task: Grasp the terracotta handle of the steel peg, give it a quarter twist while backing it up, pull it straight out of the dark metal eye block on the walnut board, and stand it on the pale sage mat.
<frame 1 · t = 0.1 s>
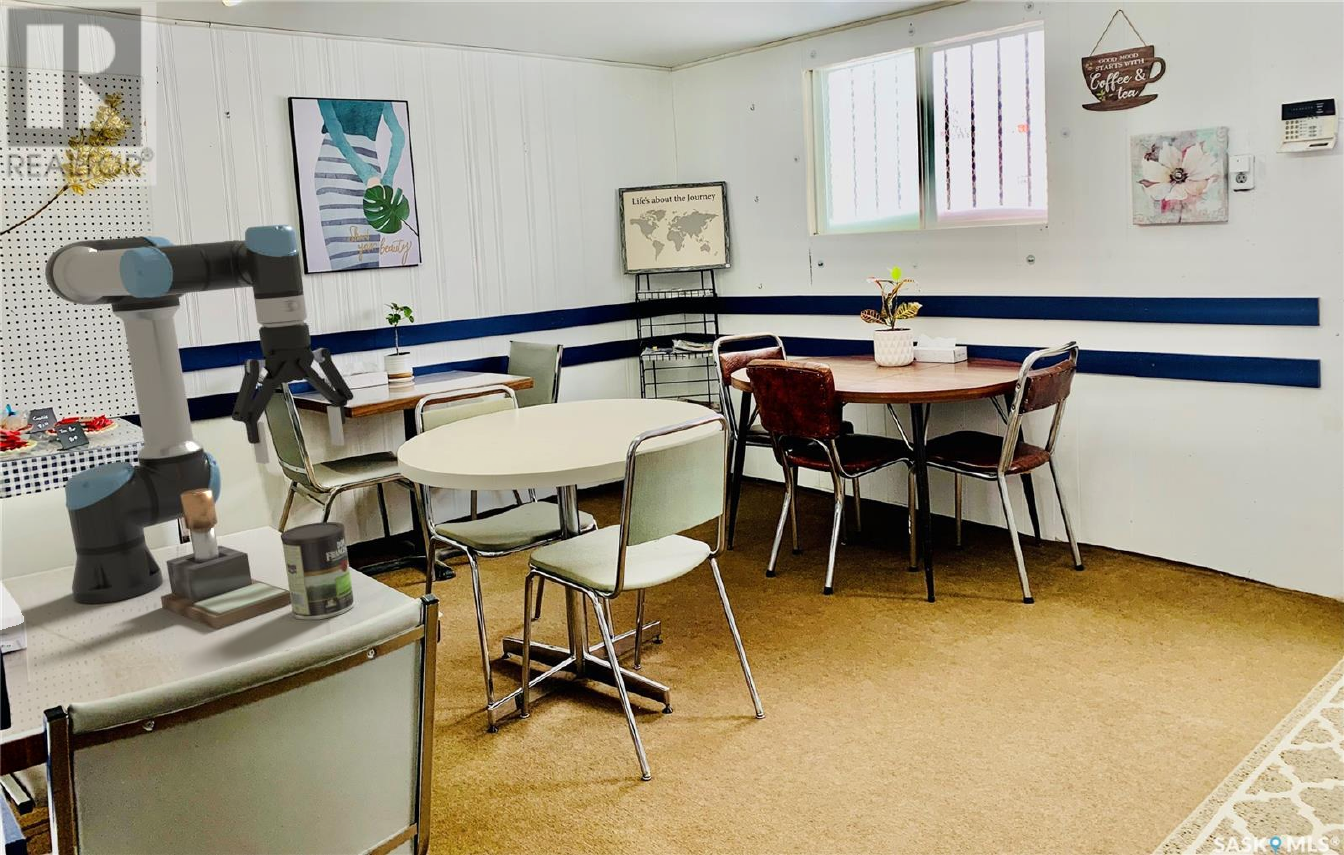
hand: (301, 453, 176), 28 cm above the table, fingers open, 13 cm apart
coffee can: (324, 610, 184), on the table
board: (227, 604, 190), on the table
peg: (212, 589, 193), point 2 cm above the table, touching board
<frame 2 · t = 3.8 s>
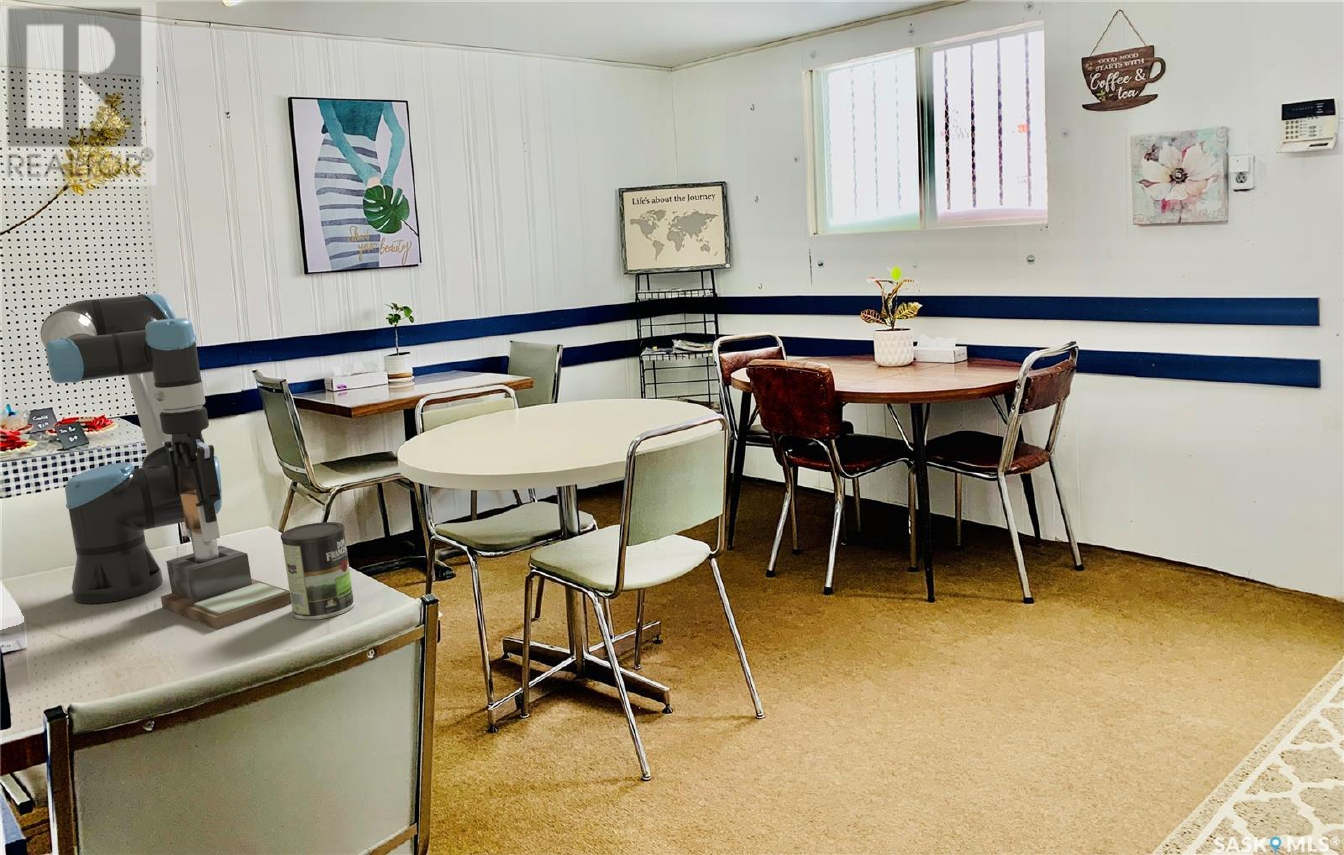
hand: (203, 536, 191), 12 cm above the table, fingers closed on peg, 5 cm apart
peg: (212, 589, 193), point 2 cm above the table, touching board, gripper
everything else where it was.
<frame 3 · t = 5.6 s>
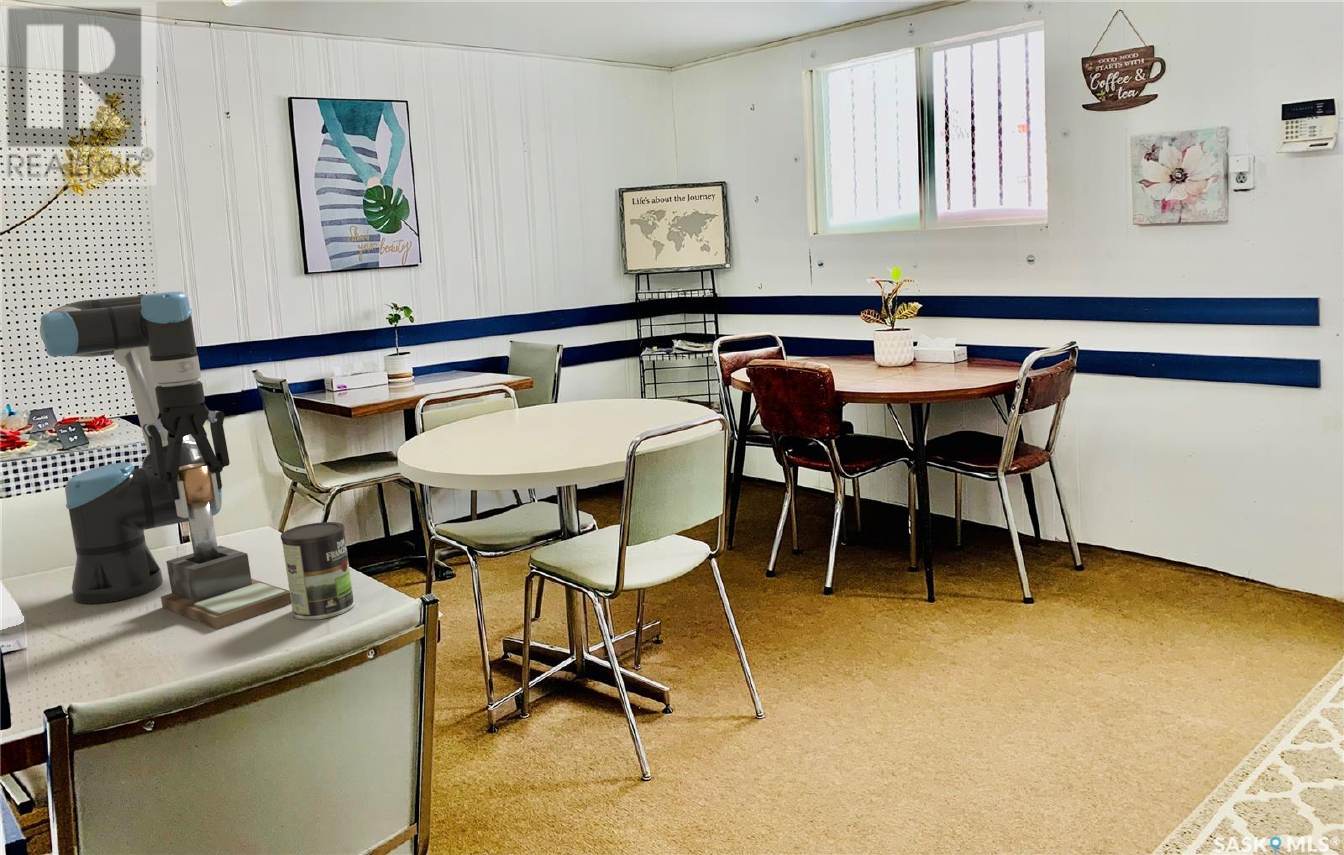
hand: (199, 512, 190), 16 cm above the table, fingers closed on peg, 5 cm apart
peg: (208, 564, 192), point 7 cm above the table, touching gripper
everything else where it was.
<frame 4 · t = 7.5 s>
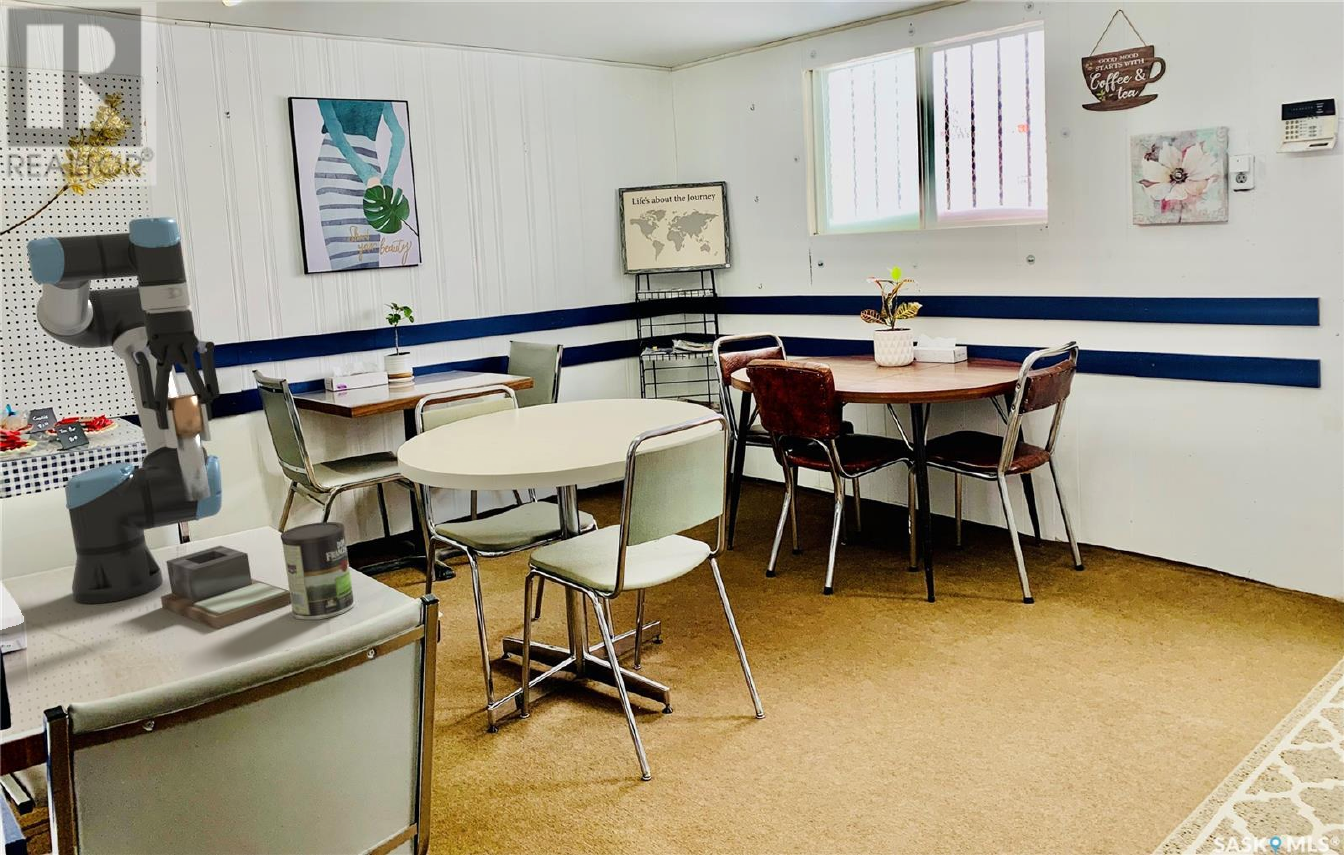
hand: (189, 443, 187), 29 cm above the table, fingers closed on peg, 5 cm apart
peg: (197, 497, 189), point 19 cm above the table, touching gripper
everything else where it was.
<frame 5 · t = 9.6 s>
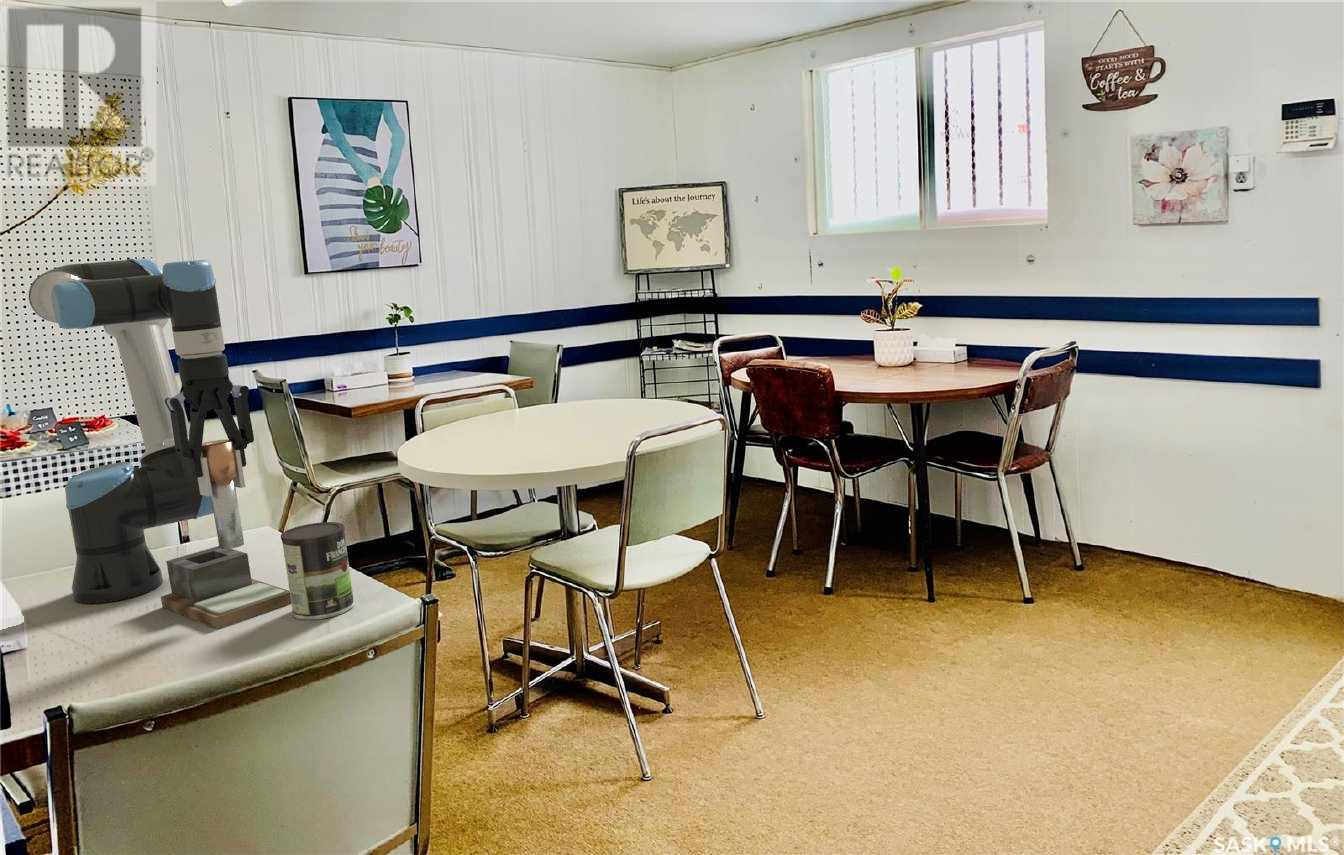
hand: (223, 490, 183), 21 cm above the table, fingers closed on peg, 5 cm apart
peg: (231, 545, 185), point 12 cm above the table, touching gripper
everything else where it was.
when the fingers open (13 cm above the table, at t = 11.4 s): peg stays where it is, resting on board.
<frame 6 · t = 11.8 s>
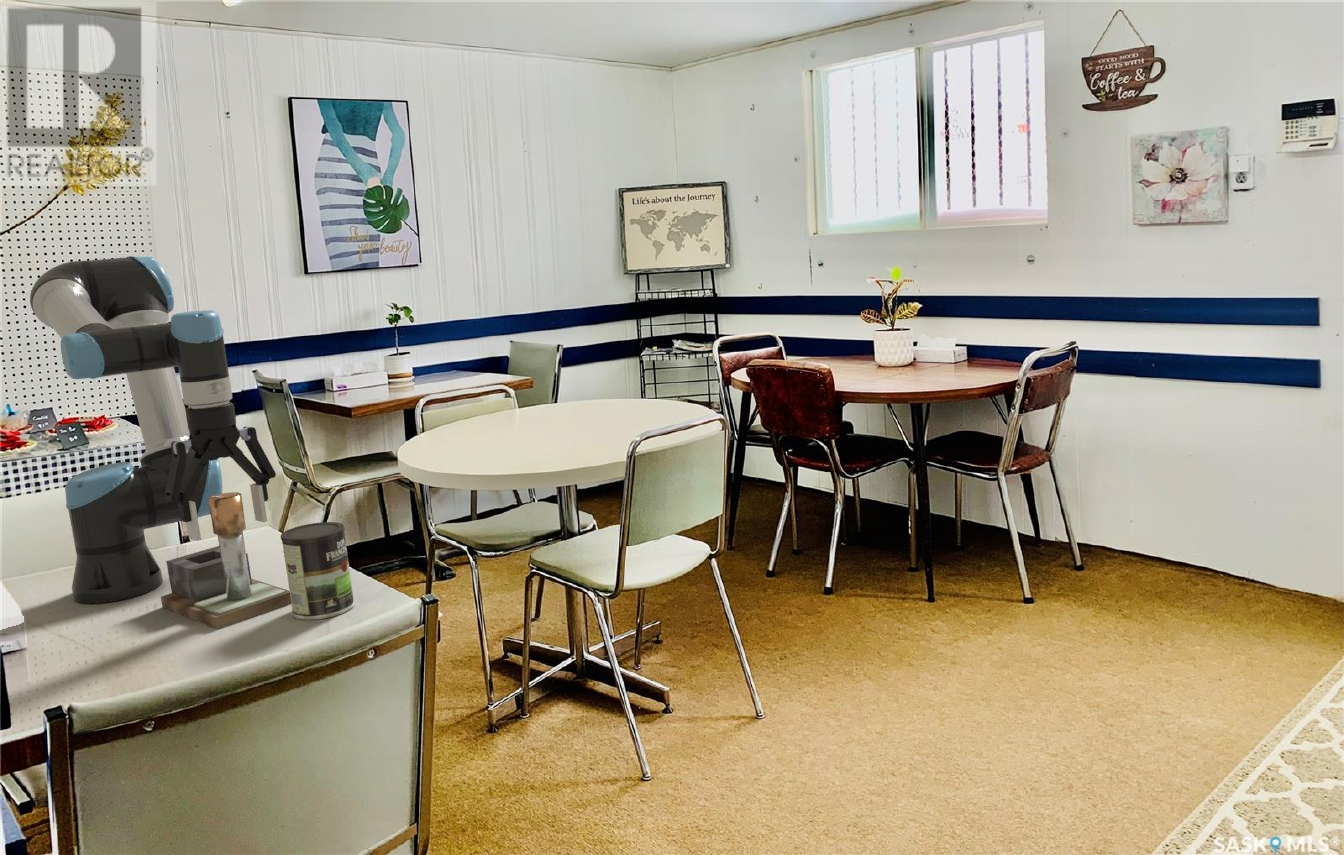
hand: (229, 529, 184), 14 cm above the table, fingers open, 11 cm apart
peg: (239, 596, 186), point 2 cm above the table, touching board
everything else where it was.
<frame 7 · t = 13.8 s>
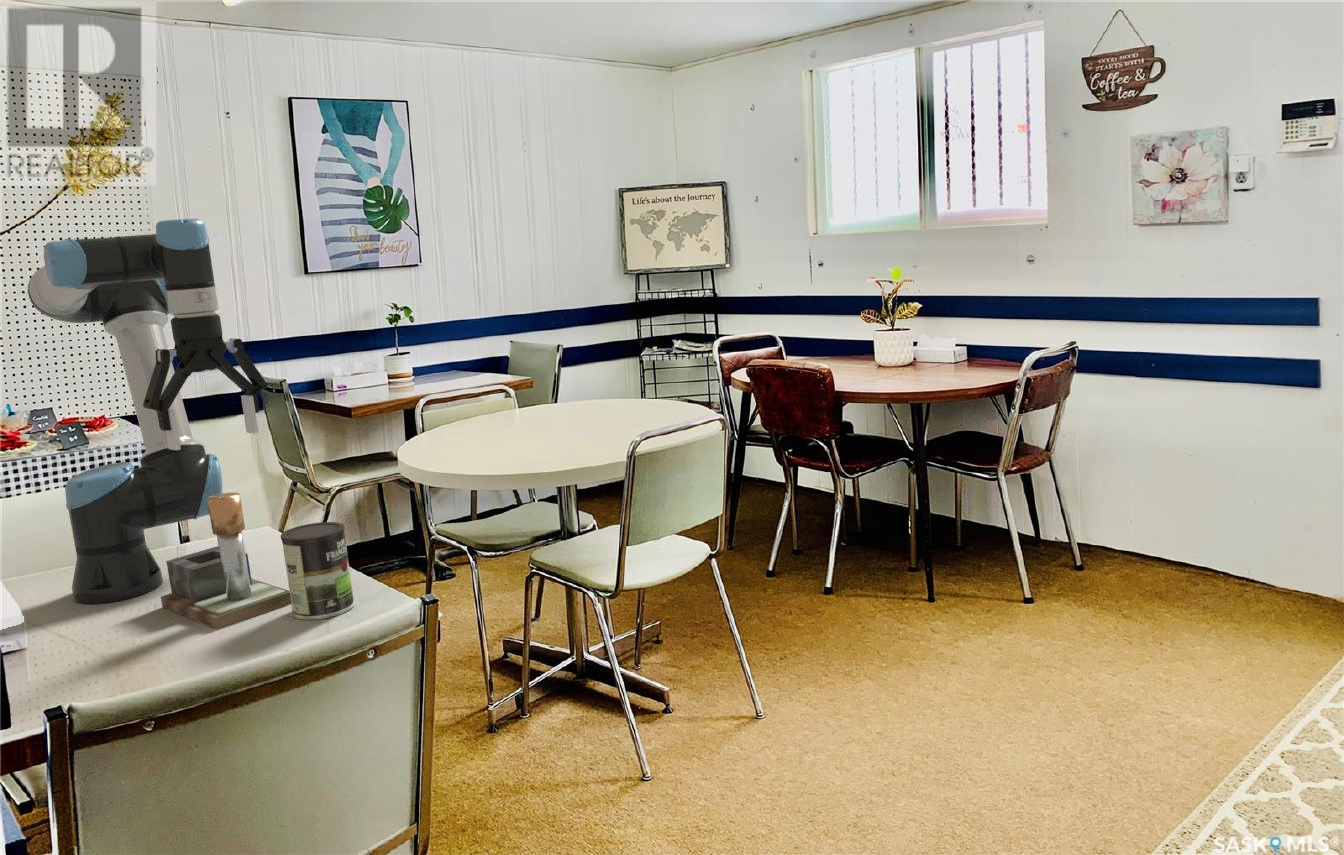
hand: (214, 441, 181), 30 cm above the table, fingers open, 13 cm apart
nothing on the table moved.
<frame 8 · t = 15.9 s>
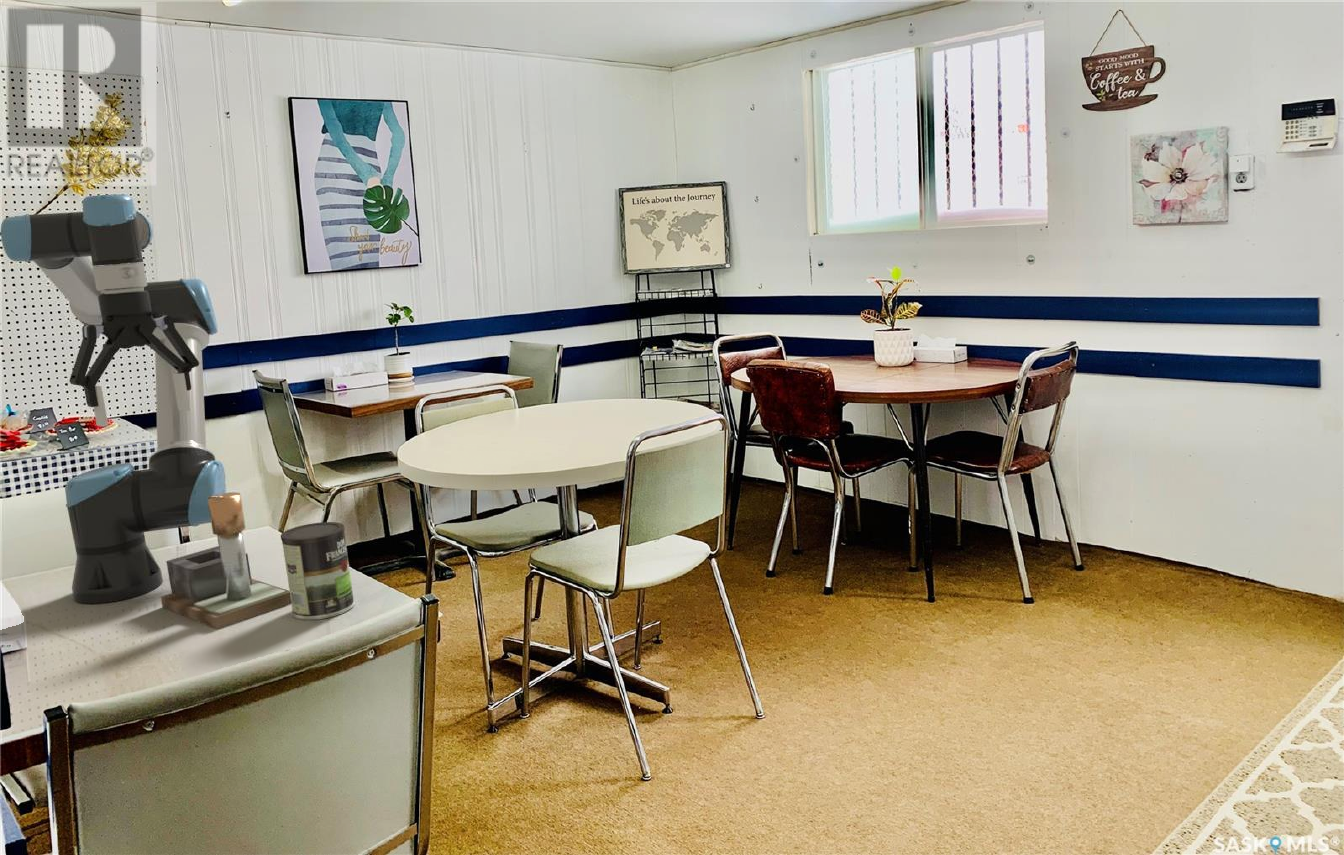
hand: (144, 418, 181), 35 cm above the table, fingers open, 13 cm apart
nothing on the table moved.
at the end: peg inside the target area on the board (0.5 cm from its centre), point 2.4 cm above the board's base; peg tilted 0°; the gripper is holding nothing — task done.
